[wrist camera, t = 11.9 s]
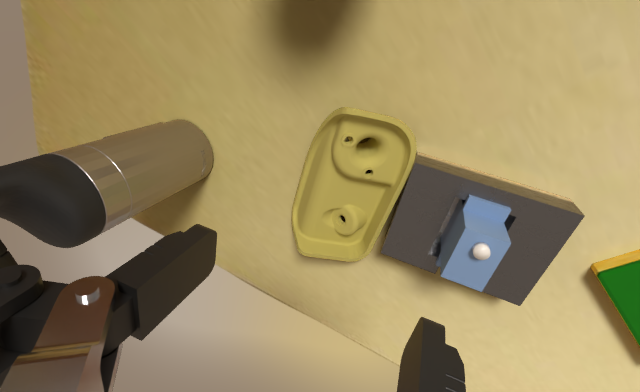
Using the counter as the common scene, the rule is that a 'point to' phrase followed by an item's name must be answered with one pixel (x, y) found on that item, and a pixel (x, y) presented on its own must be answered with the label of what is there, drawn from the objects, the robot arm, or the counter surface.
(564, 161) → the counter surface
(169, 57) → the counter surface
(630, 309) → the dish sponge
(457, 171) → the grey hollow block
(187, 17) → the counter surface
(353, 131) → the plastic component
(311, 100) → the counter surface
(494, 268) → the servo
